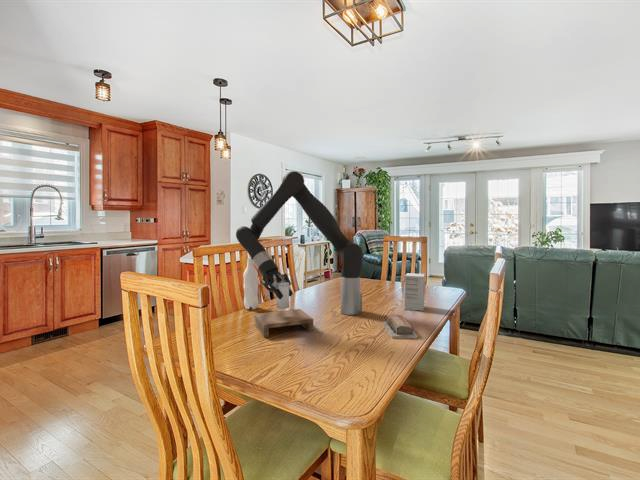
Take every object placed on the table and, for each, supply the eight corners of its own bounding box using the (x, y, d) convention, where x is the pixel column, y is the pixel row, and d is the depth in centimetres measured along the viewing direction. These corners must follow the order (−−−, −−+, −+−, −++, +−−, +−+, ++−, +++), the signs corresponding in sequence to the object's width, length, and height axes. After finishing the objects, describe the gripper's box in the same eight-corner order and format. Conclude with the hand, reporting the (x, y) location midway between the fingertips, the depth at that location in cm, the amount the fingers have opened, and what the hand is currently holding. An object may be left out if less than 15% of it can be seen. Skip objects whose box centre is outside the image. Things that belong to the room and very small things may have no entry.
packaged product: (382, 313, 150) (405, 313, 150) (382, 324, 150) (405, 324, 150) (391, 327, 132) (418, 326, 132) (391, 339, 132) (418, 339, 132)
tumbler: (287, 305, 147) (287, 281, 146) (290, 308, 142) (290, 283, 142) (275, 306, 145) (275, 282, 144) (278, 309, 140) (278, 284, 140)
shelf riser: (300, 320, 156) (300, 308, 155) (313, 331, 141) (313, 318, 141) (255, 325, 148) (254, 313, 148) (264, 337, 133) (263, 324, 133)
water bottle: (255, 310, 171) (254, 259, 169) (241, 309, 173) (240, 259, 171) (260, 306, 178) (259, 257, 176) (247, 306, 180) (246, 257, 178)
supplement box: (423, 311, 169) (424, 276, 168) (404, 309, 172) (404, 275, 171) (424, 306, 178) (425, 273, 177) (405, 305, 181) (406, 272, 180)
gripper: (256, 260, 141) (278, 294, 135) (281, 257, 153) (302, 288, 146) (248, 272, 145) (268, 305, 138) (273, 268, 156) (293, 298, 150)
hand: (286, 296), depth 142 cm, fingers closed on tumbler, 5 cm apart
